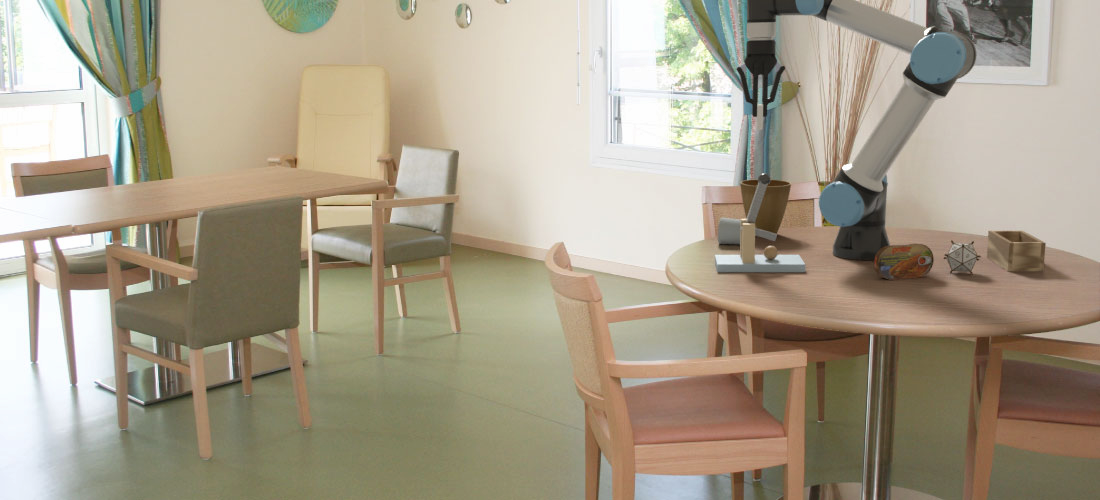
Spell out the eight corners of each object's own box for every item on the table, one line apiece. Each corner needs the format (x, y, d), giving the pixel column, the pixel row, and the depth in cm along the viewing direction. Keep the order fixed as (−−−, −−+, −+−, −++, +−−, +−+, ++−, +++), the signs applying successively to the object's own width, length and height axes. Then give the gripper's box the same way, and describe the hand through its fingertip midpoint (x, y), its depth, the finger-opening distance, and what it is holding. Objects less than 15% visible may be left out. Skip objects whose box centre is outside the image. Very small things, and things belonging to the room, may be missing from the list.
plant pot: (739, 239, 305) (740, 185, 301) (739, 230, 319) (740, 178, 316) (791, 239, 302) (792, 185, 299) (788, 230, 316) (789, 178, 313)
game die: (964, 286, 258) (988, 253, 258) (967, 281, 250) (991, 248, 250) (933, 266, 261) (956, 233, 261) (934, 261, 253) (958, 227, 253)
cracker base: (798, 262, 272) (799, 217, 270) (805, 272, 261) (806, 225, 258) (714, 262, 275) (715, 217, 272) (717, 272, 263) (717, 225, 261)
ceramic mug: (745, 247, 293) (746, 220, 292) (717, 245, 296) (717, 219, 294) (750, 240, 303) (750, 214, 302) (722, 239, 306) (723, 214, 304)
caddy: (1020, 257, 272) (1022, 230, 271) (1043, 271, 256) (1045, 242, 254) (986, 257, 273) (988, 230, 272) (1007, 271, 257) (1009, 243, 255)
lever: (773, 241, 268) (793, 180, 264) (774, 244, 264) (795, 182, 261) (739, 231, 268) (759, 170, 264) (740, 234, 265) (760, 172, 261)
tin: (878, 281, 250) (879, 247, 248) (871, 278, 253) (872, 244, 251) (933, 276, 253) (935, 243, 251) (926, 274, 256) (928, 241, 254)
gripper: (784, 38, 274) (782, 127, 279) (734, 39, 275) (733, 128, 280) (788, 38, 267) (785, 130, 272) (737, 40, 268) (735, 130, 273)
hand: (759, 129), depth 276 cm, fingers closed
